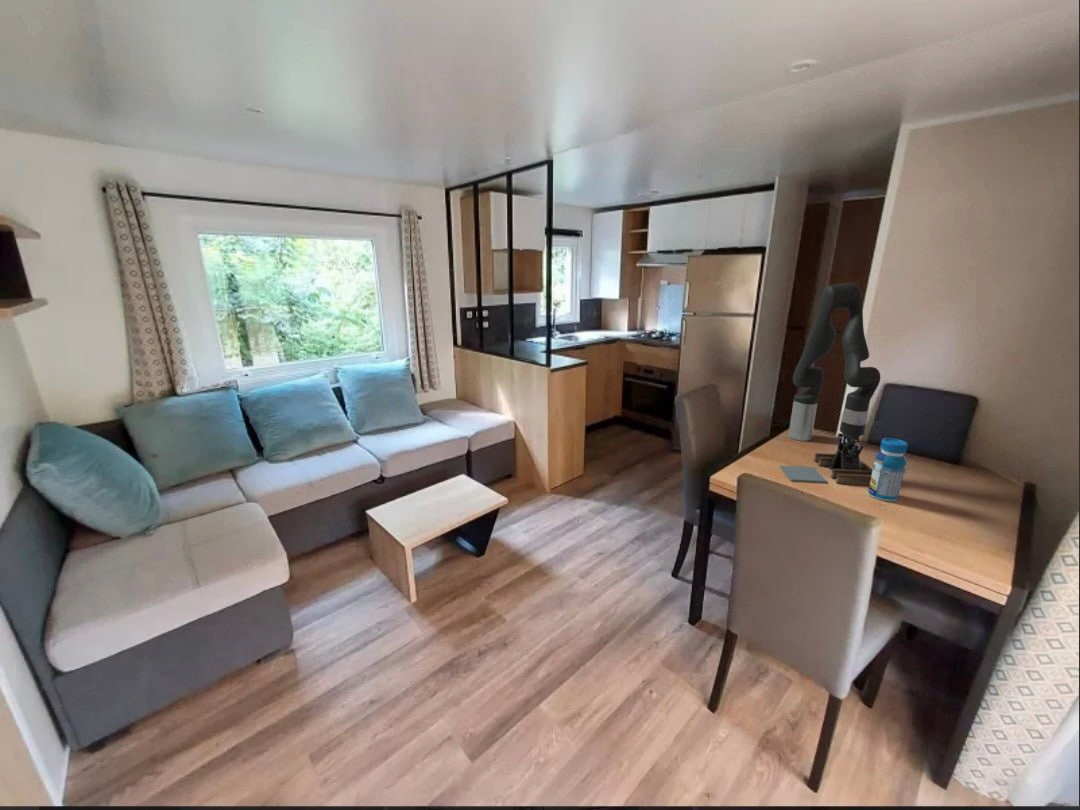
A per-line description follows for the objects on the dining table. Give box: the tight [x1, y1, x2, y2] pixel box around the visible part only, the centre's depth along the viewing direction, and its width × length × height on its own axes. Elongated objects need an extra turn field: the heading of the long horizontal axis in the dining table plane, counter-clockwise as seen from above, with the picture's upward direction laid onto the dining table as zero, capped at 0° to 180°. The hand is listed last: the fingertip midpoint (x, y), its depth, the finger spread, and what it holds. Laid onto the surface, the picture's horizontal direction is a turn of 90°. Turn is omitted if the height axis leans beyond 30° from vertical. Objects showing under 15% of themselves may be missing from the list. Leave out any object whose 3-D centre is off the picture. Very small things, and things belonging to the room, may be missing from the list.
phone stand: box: [828, 443, 860, 471], centre depth 165 cm, size 9×6×12 cm, turn 1°
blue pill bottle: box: [867, 437, 909, 502], centre depth 146 cm, size 8×8×20 cm
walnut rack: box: [813, 452, 873, 486], centre depth 166 cm, size 20×14×4 cm
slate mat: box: [779, 465, 828, 484], centre depth 165 cm, size 12×12×1 cm
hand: (845, 463), depth 165 cm, fingers closed on phone stand, 3 cm apart
